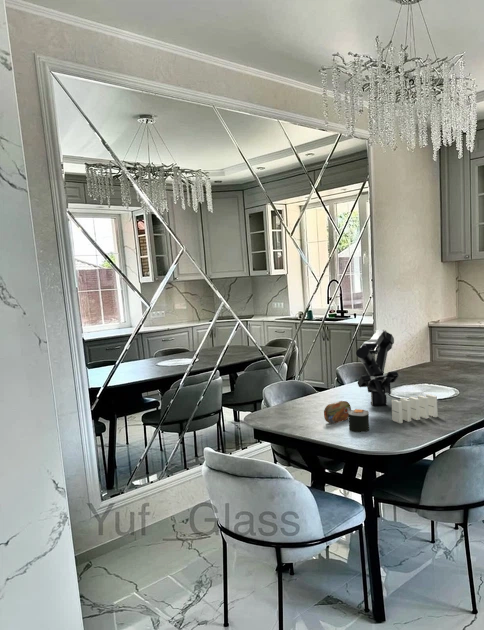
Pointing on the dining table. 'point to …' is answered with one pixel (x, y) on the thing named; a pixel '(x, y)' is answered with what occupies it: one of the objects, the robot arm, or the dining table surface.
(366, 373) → the robot arm
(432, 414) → the domino
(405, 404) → the domino
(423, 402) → the domino
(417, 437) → the dining table surface
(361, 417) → the sushi
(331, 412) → the tin
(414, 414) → the domino
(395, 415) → the domino
